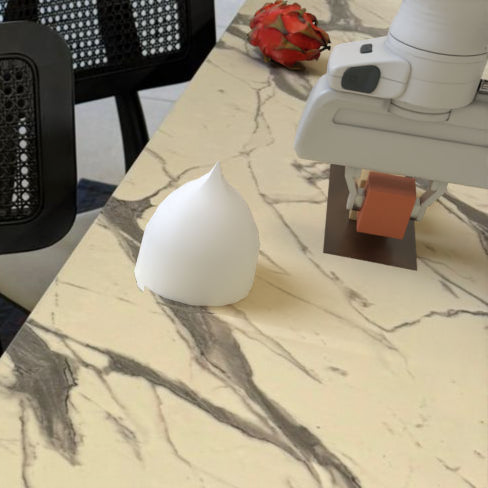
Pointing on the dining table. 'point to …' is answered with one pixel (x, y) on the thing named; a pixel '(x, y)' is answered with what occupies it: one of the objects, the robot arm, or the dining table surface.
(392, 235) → the rust red cube
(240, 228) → the teardrop
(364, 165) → the robot arm
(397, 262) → the grooved block on base
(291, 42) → the dragon fruit
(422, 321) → the dining table surface
